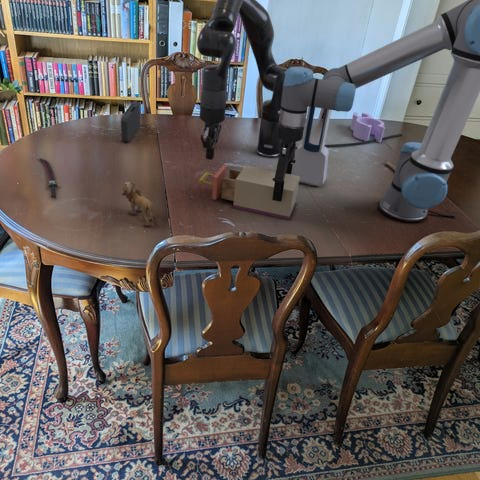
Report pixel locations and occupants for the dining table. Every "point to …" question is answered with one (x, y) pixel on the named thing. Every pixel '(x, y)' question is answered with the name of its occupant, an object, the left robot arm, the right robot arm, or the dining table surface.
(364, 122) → the clip
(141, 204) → the lion figurine
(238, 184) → the cream rectangular box
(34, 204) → the dining table surface
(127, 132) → the handheld gaming console
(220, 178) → the drawer
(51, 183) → the sword
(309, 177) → the electronic device
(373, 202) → the dining table surface
